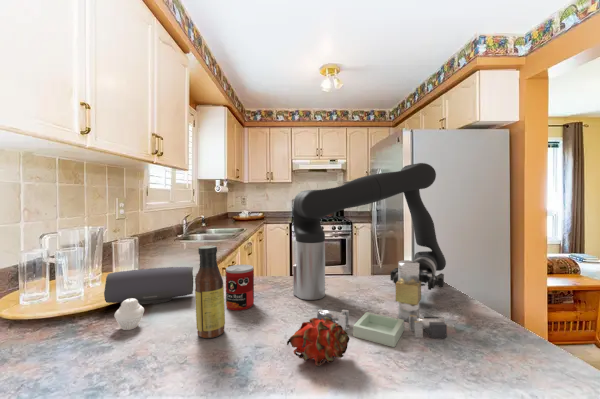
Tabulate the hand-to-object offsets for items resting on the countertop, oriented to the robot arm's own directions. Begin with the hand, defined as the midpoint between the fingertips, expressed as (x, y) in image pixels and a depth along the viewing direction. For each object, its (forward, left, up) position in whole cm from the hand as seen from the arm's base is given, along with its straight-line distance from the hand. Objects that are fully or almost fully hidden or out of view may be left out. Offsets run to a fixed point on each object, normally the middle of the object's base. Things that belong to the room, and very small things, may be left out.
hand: (412, 283), depth 78 cm
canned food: (-43, -21, -8) cm, 49 cm away
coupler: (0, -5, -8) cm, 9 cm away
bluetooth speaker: (-68, -32, -8) cm, 76 cm away
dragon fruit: (-11, -34, -8) cm, 37 cm away
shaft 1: (-15, -19, -8) cm, 25 cm away
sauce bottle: (-37, -37, -8) cm, 53 cm away
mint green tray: (-4, -17, -8) cm, 19 cm away
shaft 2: (+6, -12, -8) cm, 15 cm away
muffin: (-56, -45, -8) cm, 72 cm away
